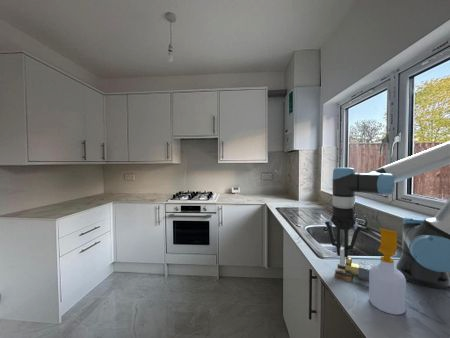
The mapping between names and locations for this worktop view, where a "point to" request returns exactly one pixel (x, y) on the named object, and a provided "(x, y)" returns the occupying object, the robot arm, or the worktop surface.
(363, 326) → the worktop surface
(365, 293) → the worktop surface
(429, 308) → the worktop surface
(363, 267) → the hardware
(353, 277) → the panel
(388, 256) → the soap bottle
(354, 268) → the bolt
